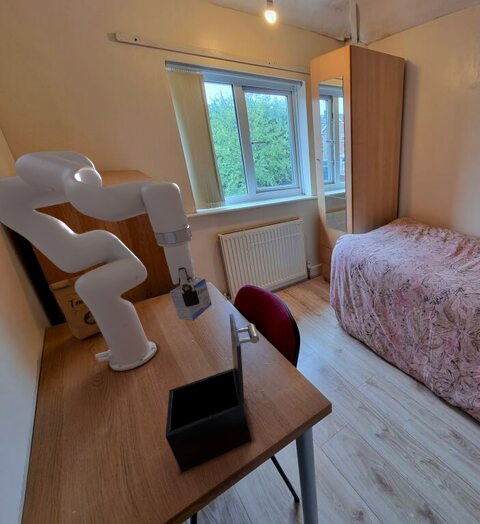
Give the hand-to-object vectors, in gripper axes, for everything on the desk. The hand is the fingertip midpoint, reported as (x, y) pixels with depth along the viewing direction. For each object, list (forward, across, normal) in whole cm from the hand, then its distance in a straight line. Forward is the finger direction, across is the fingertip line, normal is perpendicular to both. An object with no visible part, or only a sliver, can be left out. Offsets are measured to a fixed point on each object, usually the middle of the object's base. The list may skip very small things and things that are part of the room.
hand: (192, 296), depth 76 cm
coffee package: (+26, -44, -37) cm, 63 cm away
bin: (+26, +22, -1) cm, 34 cm away
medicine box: (+5, 0, 0) cm, 5 cm away
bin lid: (+6, +22, +7) cm, 24 cm away
